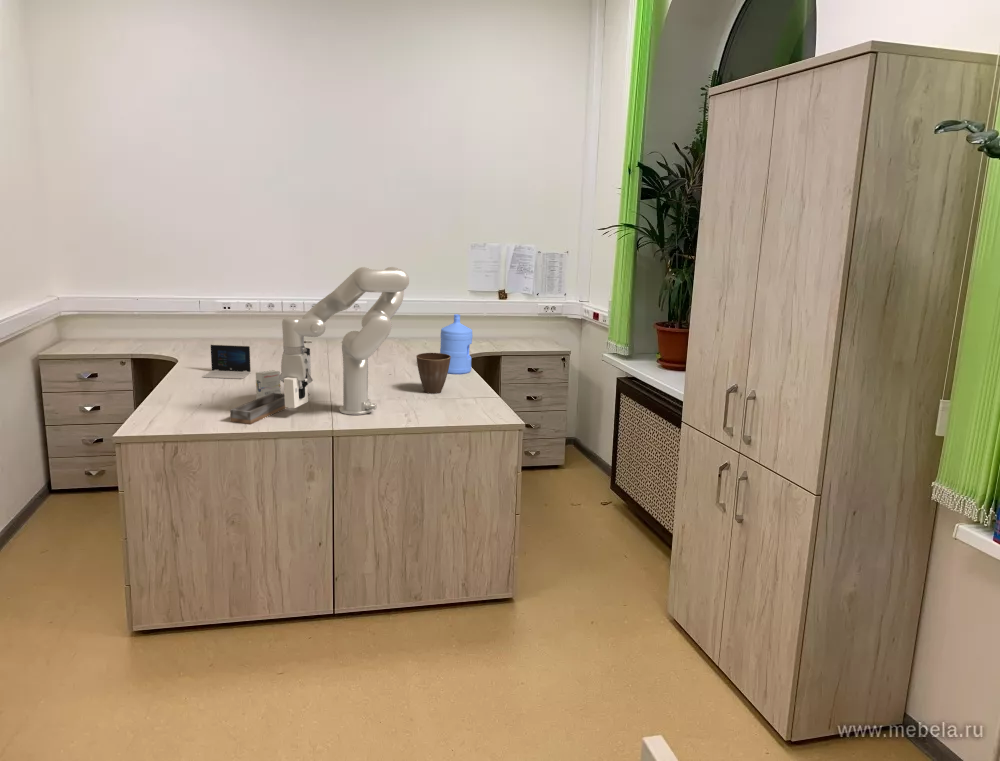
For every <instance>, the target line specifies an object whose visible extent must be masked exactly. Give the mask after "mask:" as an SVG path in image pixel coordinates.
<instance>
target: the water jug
mask: <svg viewBox="0 0 1000 761" xmlns="http://www.w3.org/2000/svg"><path fill="white" fill-rule="evenodd" d="M472 344H473V329H472V328H471V327H468V326H467V325H464V324H462V323H461V314H457V313H456V314H455V313H454V314H453V323H450V324H447V325H446V326H443V327H442V328H441V329H440V349H439V353H442V354H447V355H450V356H451V359H450V365H449V369H448V373H447V374H451V375H463V374H468V373H470V372H471V371H472V356H471V355H470V349H471V348H470V346H471V345H472Z"/></svg>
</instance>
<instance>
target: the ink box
mask: <svg viewBox="0 0 1000 761" xmlns="http://www.w3.org/2000/svg"><path fill="white" fill-rule="evenodd" d="M280 374H281V372H280V371H279V370H275V369H271V370H270V369H269V370H263V371H257V372H255V387H256V390H255V392H256V394H255V395H256V398H255V400H256V399H258V398H261V397H263V396H266V395H269V394H271V393H281V394H282V391H281V388H282V387H281V380H280V379H279V376H280Z"/></svg>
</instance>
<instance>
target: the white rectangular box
mask: <svg viewBox="0 0 1000 761" xmlns="http://www.w3.org/2000/svg"><path fill="white" fill-rule="evenodd" d="M306 381H307V379H305V382H306ZM308 385H309V384H308ZM308 385H307V386H306V387H305V397H304V398H302V399H299V389H300V386H299V382H298V380H297V378H292V377H287V378H284V383H283V392H284V393H283V394H284V396H285V407H287V408H286V409H288V408H289V409H295V408H296V409H297V408H299V407H300V406H302V405H305V404H306V403H308V402H309V386H308Z"/></svg>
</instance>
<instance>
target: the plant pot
mask: <svg viewBox="0 0 1000 761" xmlns="http://www.w3.org/2000/svg"><path fill="white" fill-rule="evenodd" d="M450 359H451V356H450V355H447V354H442V353H440V352H424V353H418V354H417V355H416V363H417V364H416V365H417V370H418V375H419V379H420V382H421V386H422V388H423V391H424V393H426V394H431V395H432V394H440V393H441V392H442V391H443V388H444V386H445V384H446V380H447V376H448V374H449V373H448V369H449V365H450Z"/></svg>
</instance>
